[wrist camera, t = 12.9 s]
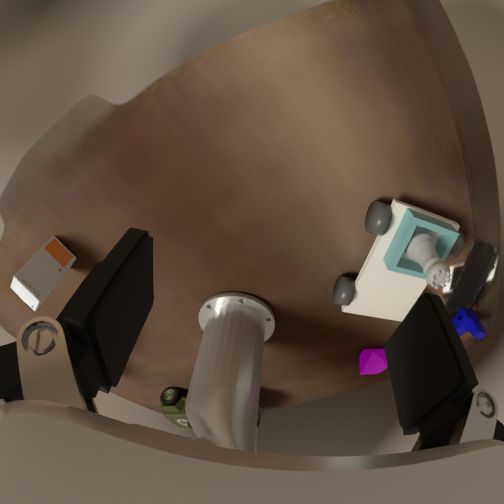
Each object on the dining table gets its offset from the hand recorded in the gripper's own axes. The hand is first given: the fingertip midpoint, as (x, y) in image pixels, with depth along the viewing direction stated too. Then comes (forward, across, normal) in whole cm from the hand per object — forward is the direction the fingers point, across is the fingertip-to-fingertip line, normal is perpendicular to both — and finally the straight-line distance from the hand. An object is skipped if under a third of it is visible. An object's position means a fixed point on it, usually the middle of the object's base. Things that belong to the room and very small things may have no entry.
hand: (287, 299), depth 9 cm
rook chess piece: (+24, -20, +7) cm, 32 cm away
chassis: (+26, -20, +12) cm, 35 cm away
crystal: (+27, -27, +33) cm, 50 cm away
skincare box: (+26, +33, +25) cm, 49 cm away
